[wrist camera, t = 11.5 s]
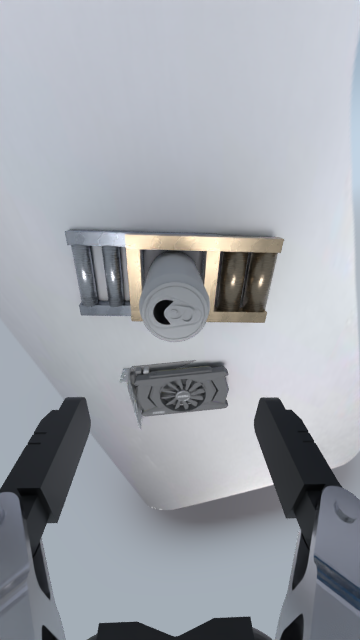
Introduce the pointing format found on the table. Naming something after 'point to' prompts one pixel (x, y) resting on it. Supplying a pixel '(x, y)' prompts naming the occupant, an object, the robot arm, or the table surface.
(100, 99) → the table surface
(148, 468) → the table surface
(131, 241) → the frame
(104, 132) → the table surface
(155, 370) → the graphics card
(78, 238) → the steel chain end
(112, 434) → the table surface
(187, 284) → the beverage can
